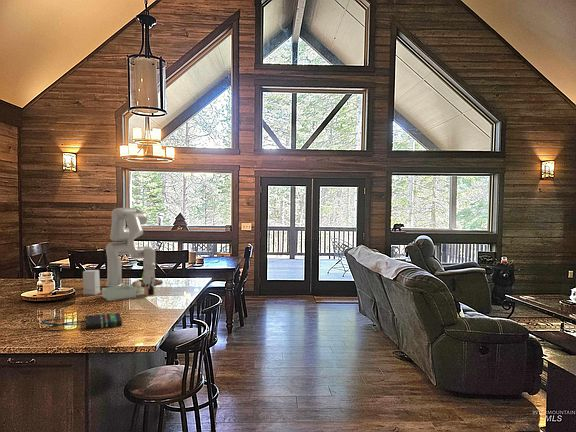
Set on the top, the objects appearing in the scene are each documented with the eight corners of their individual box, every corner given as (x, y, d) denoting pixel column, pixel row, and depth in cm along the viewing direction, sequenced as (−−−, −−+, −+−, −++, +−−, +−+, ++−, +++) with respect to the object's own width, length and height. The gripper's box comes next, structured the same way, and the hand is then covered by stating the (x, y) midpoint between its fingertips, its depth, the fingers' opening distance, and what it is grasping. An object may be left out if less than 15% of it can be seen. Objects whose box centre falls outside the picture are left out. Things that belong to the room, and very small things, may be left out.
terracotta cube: (144, 294, 271) (144, 286, 271) (151, 293, 274) (151, 286, 274) (146, 295, 267) (146, 288, 267) (154, 294, 270) (154, 287, 270)
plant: (127, 286, 298) (127, 271, 297) (144, 281, 316) (144, 267, 316) (150, 288, 292) (150, 272, 292) (166, 283, 311) (166, 268, 310)
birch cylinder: (132, 292, 278) (132, 281, 277) (139, 291, 281) (139, 281, 281) (134, 293, 274) (134, 282, 274) (142, 292, 277) (142, 282, 277)
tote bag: (122, 319, 199) (38, 326, 184) (122, 329, 199) (38, 337, 184) (119, 309, 218) (43, 315, 203) (119, 318, 218) (43, 325, 203)
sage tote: (102, 296, 262) (102, 288, 262) (129, 293, 273) (129, 285, 273) (107, 300, 252) (107, 291, 252) (136, 297, 262) (136, 288, 262)
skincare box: (100, 293, 273) (100, 269, 273) (94, 295, 267) (94, 271, 266) (88, 292, 274) (88, 269, 274) (82, 294, 268) (82, 271, 267)
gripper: (139, 265, 274) (139, 292, 275) (148, 268, 261) (148, 296, 261) (150, 264, 279) (150, 290, 279) (159, 267, 265) (159, 295, 266)
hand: (149, 293), depth 270 cm, fingers closed on terracotta cube, 5 cm apart
